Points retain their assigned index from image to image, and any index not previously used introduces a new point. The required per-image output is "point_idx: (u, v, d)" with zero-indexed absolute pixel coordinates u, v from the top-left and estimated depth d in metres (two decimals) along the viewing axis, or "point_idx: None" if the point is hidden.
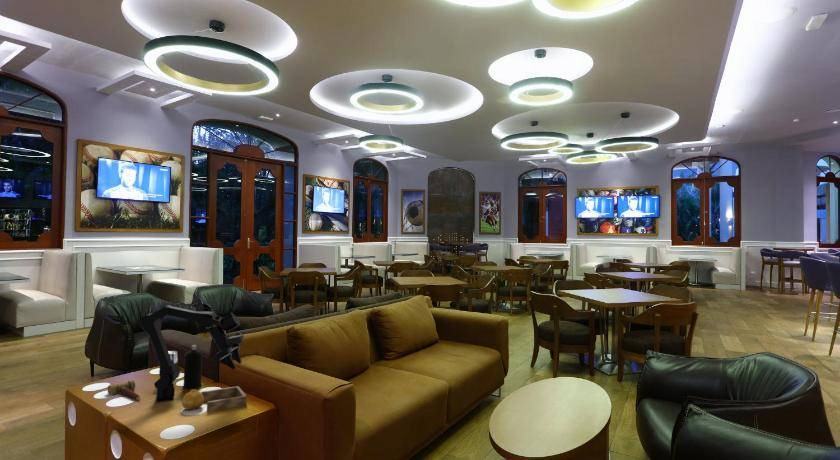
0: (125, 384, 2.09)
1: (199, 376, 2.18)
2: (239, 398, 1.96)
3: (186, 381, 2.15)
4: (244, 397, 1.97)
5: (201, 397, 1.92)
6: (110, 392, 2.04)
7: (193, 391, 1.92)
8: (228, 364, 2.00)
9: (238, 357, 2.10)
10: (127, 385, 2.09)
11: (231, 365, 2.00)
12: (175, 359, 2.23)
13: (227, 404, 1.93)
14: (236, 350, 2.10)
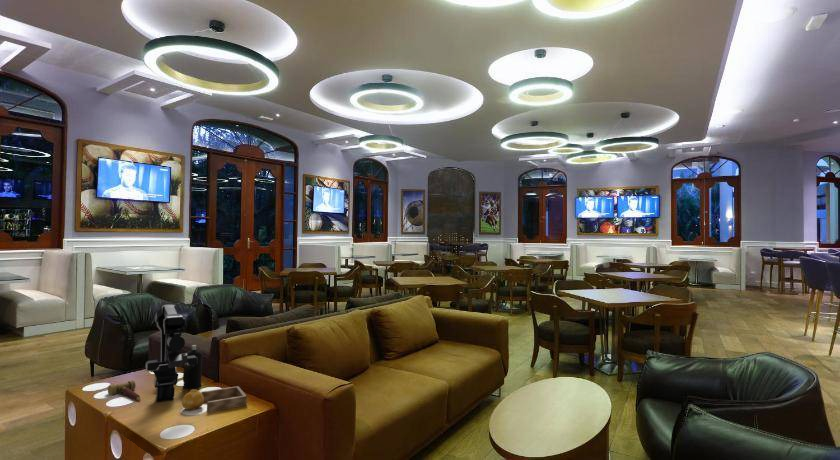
0: (125, 384, 2.09)
1: (199, 376, 2.18)
2: (239, 398, 1.96)
3: (186, 381, 2.15)
4: (244, 397, 1.97)
5: (201, 397, 1.92)
6: (110, 392, 2.04)
7: (193, 391, 1.92)
8: (155, 377, 1.84)
9: (184, 375, 1.90)
10: (127, 385, 2.09)
11: (157, 380, 1.84)
12: None
13: (227, 404, 1.93)
14: (186, 367, 1.89)
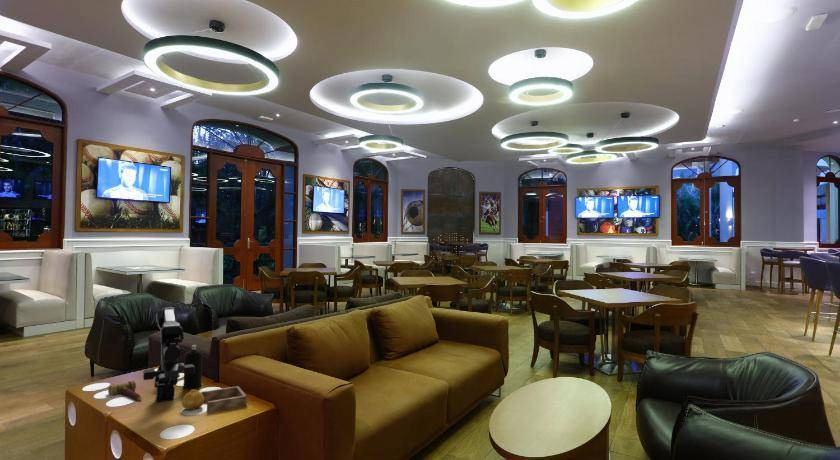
0: (126, 384, 2.09)
1: (199, 376, 2.18)
2: (239, 398, 1.96)
3: (186, 381, 2.15)
4: (244, 397, 1.97)
5: (201, 397, 1.92)
6: (111, 392, 2.04)
7: (193, 391, 1.92)
8: (165, 384, 1.87)
9: (169, 386, 1.87)
10: (128, 385, 2.09)
11: None
12: None
13: (227, 404, 1.93)
14: (171, 378, 1.86)
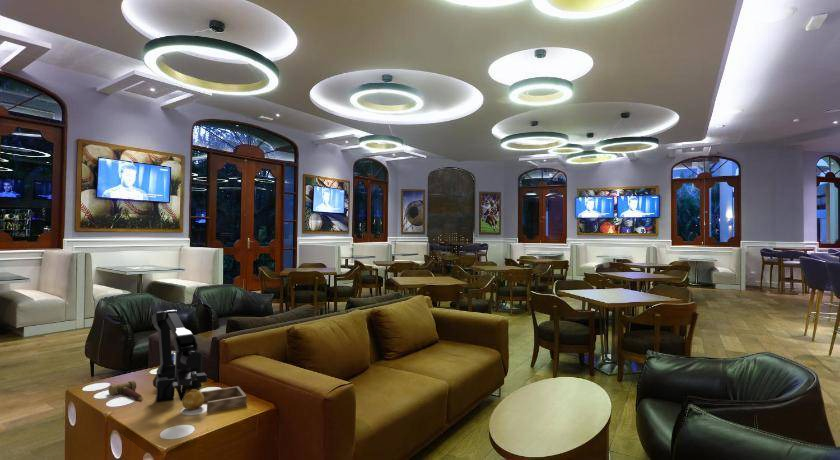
0: (126, 384, 2.09)
1: None
2: (239, 398, 1.96)
3: None
4: (244, 397, 1.97)
5: (201, 397, 1.92)
6: (111, 392, 2.04)
7: (193, 391, 1.92)
8: (178, 392, 1.90)
9: (181, 394, 1.89)
10: (128, 385, 2.09)
11: (179, 396, 1.89)
12: (175, 359, 2.23)
13: (227, 404, 1.93)
14: (183, 386, 1.89)
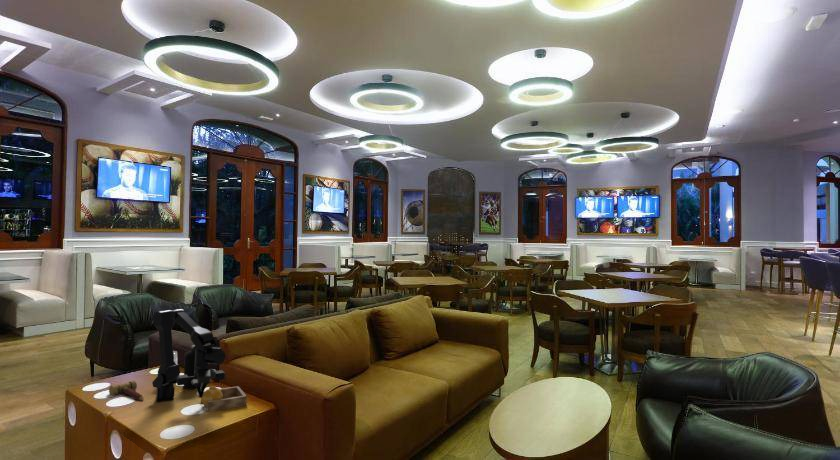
0: (126, 384, 2.09)
1: None
2: (239, 398, 1.96)
3: None
4: (244, 397, 1.97)
5: (220, 394, 1.96)
6: (112, 392, 2.04)
7: (212, 388, 1.96)
8: (197, 390, 1.94)
9: None
10: (129, 385, 2.09)
11: None
12: (175, 359, 2.23)
13: (227, 404, 1.93)
14: (202, 384, 1.93)
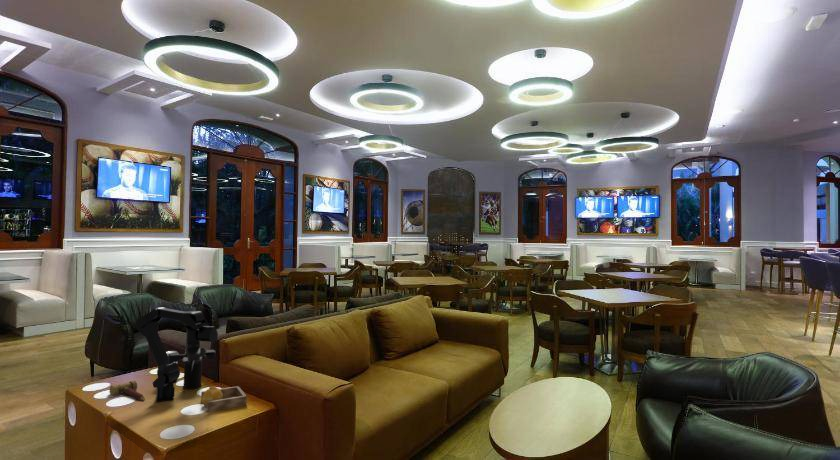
0: (127, 384, 2.09)
1: (199, 376, 2.18)
2: (239, 398, 1.96)
3: (186, 381, 2.15)
4: (244, 397, 1.97)
5: (220, 394, 1.96)
6: (112, 392, 2.04)
7: (212, 388, 1.96)
8: (188, 368, 1.99)
9: (192, 369, 1.99)
10: (129, 385, 2.09)
11: None
12: None
13: (227, 404, 1.93)
14: (193, 362, 1.99)
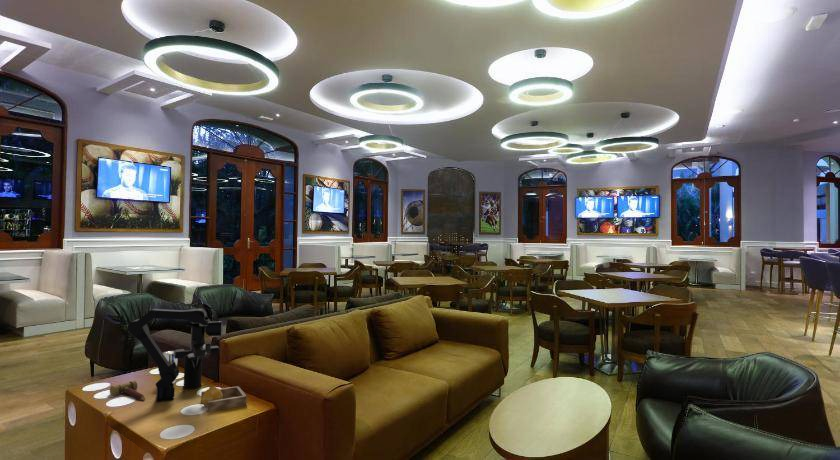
0: (127, 384, 2.09)
1: (199, 376, 2.18)
2: (239, 398, 1.96)
3: (186, 381, 2.15)
4: (244, 397, 1.97)
5: (220, 394, 1.96)
6: (113, 392, 2.04)
7: (212, 388, 1.96)
8: (193, 363, 2.06)
9: (197, 364, 2.05)
10: (129, 385, 2.09)
11: (194, 366, 2.05)
12: (175, 359, 2.23)
13: (227, 404, 1.93)
14: (199, 357, 2.05)
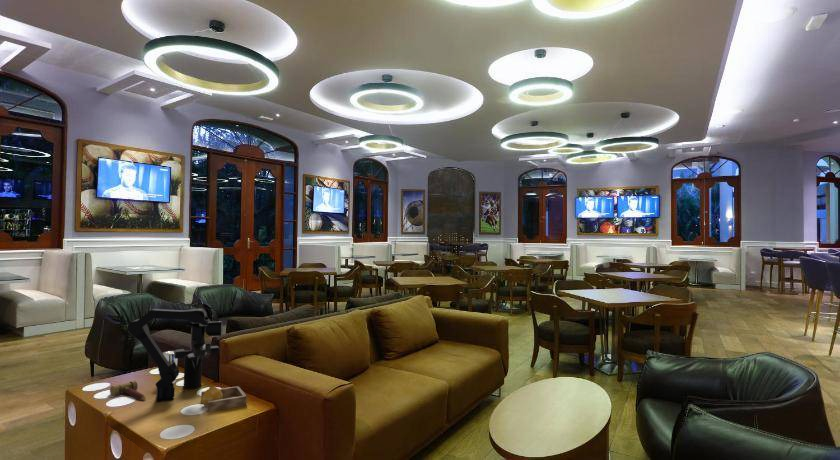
0: (127, 384, 2.09)
1: (199, 376, 2.18)
2: (239, 398, 1.96)
3: (186, 381, 2.15)
4: (244, 397, 1.97)
5: (220, 394, 1.96)
6: (113, 392, 2.04)
7: (212, 388, 1.96)
8: (193, 363, 2.06)
9: (197, 364, 2.05)
10: (129, 385, 2.09)
11: (194, 366, 2.05)
12: (175, 359, 2.23)
13: (227, 404, 1.93)
14: (199, 357, 2.05)
